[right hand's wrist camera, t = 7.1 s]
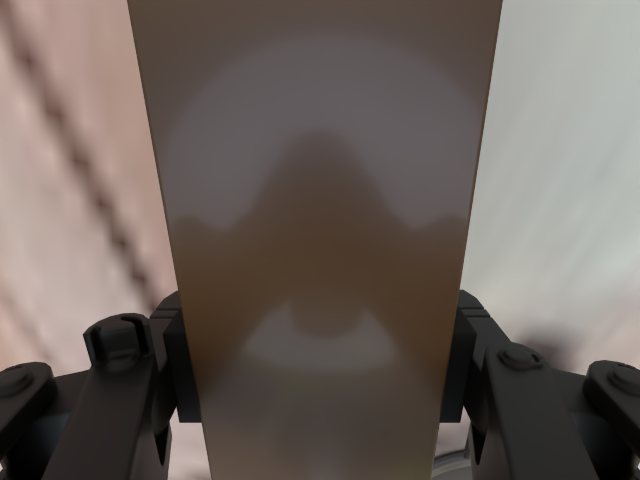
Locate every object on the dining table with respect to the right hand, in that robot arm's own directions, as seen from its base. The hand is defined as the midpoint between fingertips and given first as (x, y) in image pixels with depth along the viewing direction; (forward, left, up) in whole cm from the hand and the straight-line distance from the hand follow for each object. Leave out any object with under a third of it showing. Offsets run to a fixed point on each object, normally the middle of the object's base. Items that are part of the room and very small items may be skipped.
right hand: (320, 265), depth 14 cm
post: (+19, +4, -1) cm, 19 cm away
